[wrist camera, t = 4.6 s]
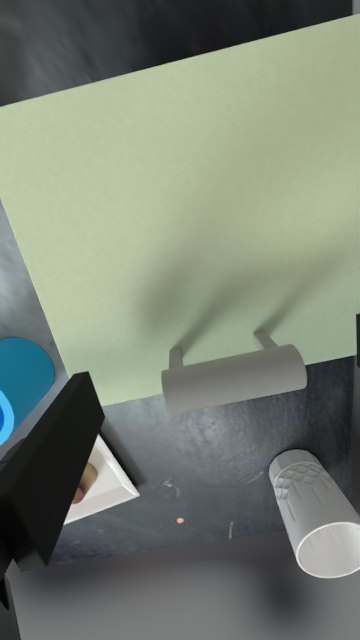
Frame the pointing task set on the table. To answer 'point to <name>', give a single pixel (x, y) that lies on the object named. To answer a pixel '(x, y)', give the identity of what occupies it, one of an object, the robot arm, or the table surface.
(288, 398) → the table surface
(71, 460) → the robot arm
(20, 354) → the mug
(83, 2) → the table surface
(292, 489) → the white cup
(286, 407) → the table surface
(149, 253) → the chest lid
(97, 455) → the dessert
